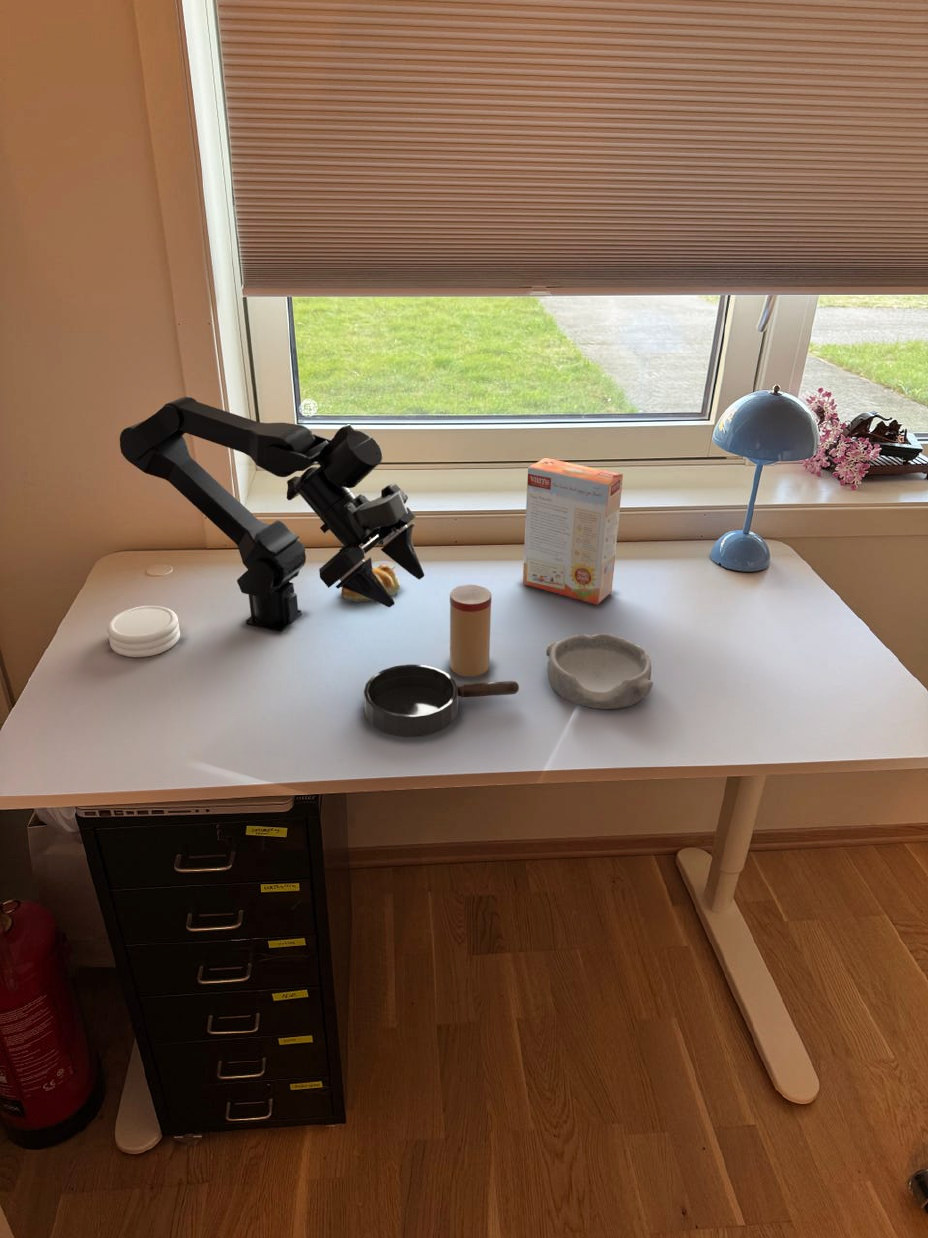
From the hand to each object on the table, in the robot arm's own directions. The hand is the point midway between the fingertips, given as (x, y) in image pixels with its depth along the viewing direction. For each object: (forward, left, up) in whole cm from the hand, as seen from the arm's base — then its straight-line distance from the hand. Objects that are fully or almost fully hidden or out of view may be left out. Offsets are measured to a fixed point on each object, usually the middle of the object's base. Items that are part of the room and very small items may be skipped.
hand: (407, 591), depth 131 cm
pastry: (-14, +15, -11) cm, 23 cm away
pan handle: (+15, -8, -8) cm, 19 cm away
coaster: (-38, -12, -11) cm, 41 cm away
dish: (+27, +3, -11) cm, 30 cm away
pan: (+6, -13, -10) cm, 18 cm away
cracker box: (+15, +29, -11) cm, 34 cm away
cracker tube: (+10, 0, -10) cm, 14 cm away
